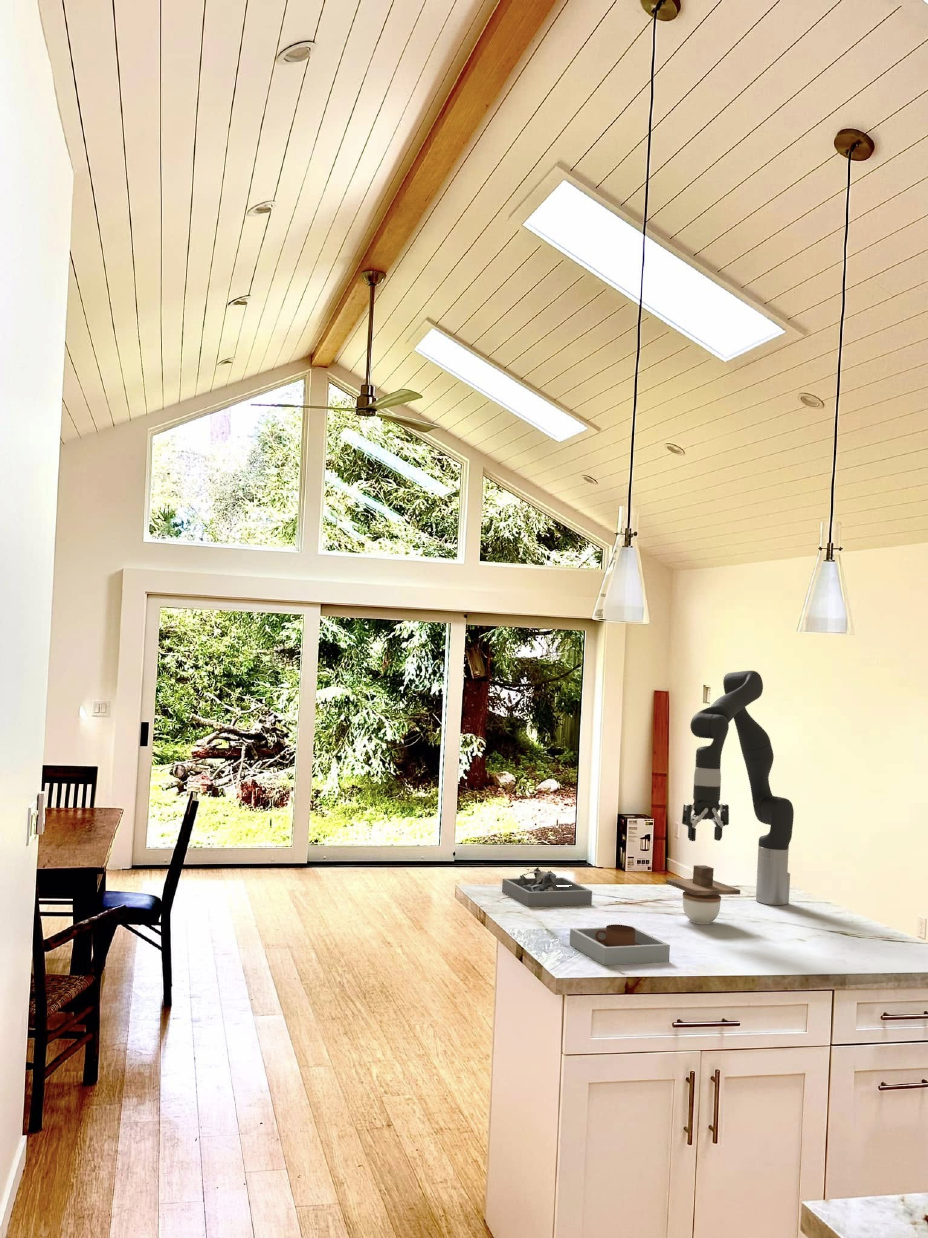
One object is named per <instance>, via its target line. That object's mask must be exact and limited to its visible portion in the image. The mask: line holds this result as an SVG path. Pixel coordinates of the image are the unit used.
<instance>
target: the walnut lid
mask: <svg viewBox="0 0 928 1238" xmlns="http://www.w3.org/2000/svg"><path fill="white" fill-rule="evenodd" d="M714 870H715V869H714V868H713V867H711V866H708V865H703V864H702V865H700V864H698V865H693V872H692V873H693V875H692V878H665V884H667V885H669V886H671V887H674V888H677V889H679V890H682V891H683V892H685V891H686V892H689V893H691V894H694V895H720V896H721V895H722V896H723V895H724V896H725V895H726V896H727V895H741V889H739V888H735V887H733V886H731V885H728V884H725V883H722V882H719V881H718V880H714Z"/></svg>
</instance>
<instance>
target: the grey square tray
mask: <svg viewBox="0 0 928 1238" xmlns="http://www.w3.org/2000/svg"><path fill="white" fill-rule="evenodd" d="M629 926H630V927H633V928H635V929H636V932H635V942H636V943H639V944H641V945H636V946H615V947H606V946H604V945H602V944H600V943H599V942H597V940H596V938H595V934H596V932H597V931H598V930H605V931H606V926H604V927H603V926H601V927H600V926H599V927H598V926H597V927H579V928H577V927H575V928H570V931H569V945H570V946H571V947H572V948H574V949H576V950H578V951H580V952H581V953H583V954H585V955H586V956H588V957H590V958H591V959H592V960H594V961H597V962H598V963H599V964H601V965H603V966H612V965H613V966H615V965H632V964H648V963H649V964H651V963H664V962H665V963H666V962H667V963H668V962H670V950H671V948H670V947H671V944H670V943H667V942H665V941H663V940H661V939H659V938H657V937H654V935H651V934H649V933H647V932H645V931H643V930H641V929H639V928H637V927H635V926H633V925H629ZM598 938H599V939H601V940H602V939H605V938H606V934H604V933H599V934H598Z"/></svg>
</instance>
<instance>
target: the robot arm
mask: <svg viewBox="0 0 928 1238" xmlns="http://www.w3.org/2000/svg"><path fill="white" fill-rule="evenodd" d="M722 680H723V691H724V695H722V696H720V697H718V698H717V699H716V700H715V701H714V702H713V704H711V705H710V706H709V707H706V708H703V709H702V710H700V711H698V712H696V713H695V715H693V716H692V719H691V721H690V725H689V727H690V730H691V731H690V732H691V733H692V735H693V736H695V737H697V738H700V739H712V742H711V744H709V745H704V746H703V745H702V746H700V747H698V748H696V751H695V769H694V774H693V793H692V795H693V796H692V797H693V804H690V803H684V804H683V807H682V819H681V824H682V825H684V826H686V827H687V838H688V840H689V842H690V841H691V842H695V841H696V839H697V838H696V834H697V833H696V832H697V829H696V826H698V824H699V823H700V822H701V821H705V820H710V821H712V822H713V824H714V825H715V826H714V830H713V831H714V837H713V840H715V841H718V842H719V841H721V840H722V837H723V828H724V827H725V826H729V824H730V807H729V804H726V803H724V802H723V803H720V800H721V785H722V784H721V783H722V774H721V762H722V760H721V759H722V752H723V749H724V745H725V741H726V738H727V736H728V732H729V727H730V725H729V723H730V722H731V721H732V720H733V721H734V725H735V728H736V733H737V735H738V736H737V737H738V739H739V745H740V749H741V753H742V756H743V760H744V763H745V767H746V772H747V777H748V780H749V785H750V786H749V787H750V791H751V792H750V793H751V798H752V799H751V801H752V805H753V811H754V814H755V817H756V819H757V820H758V821H759V822H760V823H761V824H764V825H769V826H770V827H769V828H770V829H769V832H768V833H767V834H766V835H761V836H759V838H758V842H757V843H758V847H757V848H758V850H757V867H756V868H757V869H756V888H755V889H756V892H755V901H756V902H758V903H761V904H765V905H771V906H785V905H787V904H790V890H791V889H790V888H791V887H790V884H791V874H790V872H789V871H788V870H789V868H788V867H789V850H790V849H789V847H790V843H791V840H792V834H793V825H794V815H795V810H794V806H793V803H792V802H791V801H790V800H789V798H786V797H781V796H774V795H773V793H772V791H771V786H770V780H769V777H770V774H771V769H772V768H773V764H774V759H775V758H774V757H775V756H774V751H773V747H772V743H771V739H770V736H769V735H768V733H767V732H766V731H765V729H764V728H763V727H762V726H761V725H760V724H759V723H758V721H756V720H755V719H754V718H753V717H752V716H751V714H750V713H749V712H748V710H747V708H746V707H747V706H748V705H750V704H751V703H753V702H754V701H756V700H758V699H759V698H760V697H761V696H762V694H763V690H764V682H763V679H762V677H761V674H760V673H759V672H758V671H755V670H743V671H733V672H728V673H726V674H724V676H723V679H722ZM719 811H720V814H719ZM692 812H693V813H692Z"/></svg>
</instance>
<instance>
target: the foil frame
mask: <svg viewBox="0 0 928 1238" xmlns="http://www.w3.org/2000/svg"><path fill="white" fill-rule="evenodd" d="M519 878H520V877H519ZM519 878H502V884H501V887H502V888H501V892H502V893H503V894H505V895H506V896H509V897H510V898H513V899H514V901H515V900H516V901H517V902H519V903H521V904H522V905H525V906H526V907H552V906H553V907H554V906H555V907H556V906H557V907H558V906H581V905H583V906H585V905H586V906H587V905H589V906H590V905H592V904H593V890H591V889H589V888H587V887H585V886H582V885H581V884H578V883H576V882H574V881H572V880H571V879H568V878H566V877H564V876H562V877H556V878H555V883H547V886H548V885H549V884H550V885H572V886H569V887H557V886H556V887H555V891H542V892H530V891H528V890H526V889H524V888H522V887H520V886H518V885H517V884H518V882H519V881H520V880H519ZM526 878H527V879H528V880H529V881H530V882H531V883H532V882H533V881H534V880H535V877H526ZM538 884H539V883H538ZM536 887H537V886H536ZM538 887H539V886H538ZM535 889H536V888H535Z"/></svg>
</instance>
